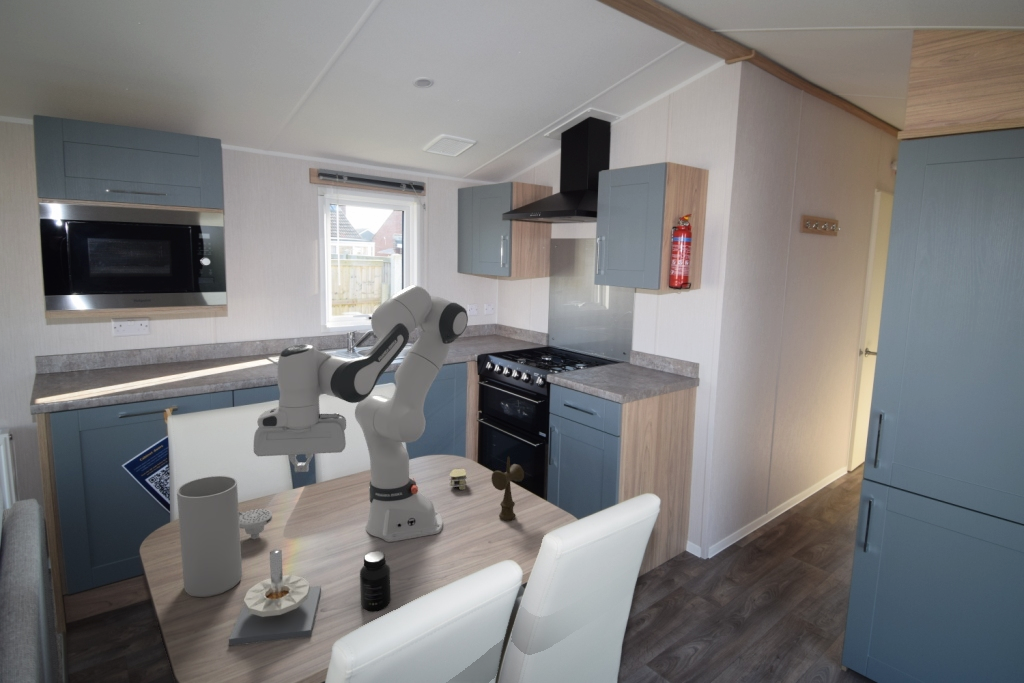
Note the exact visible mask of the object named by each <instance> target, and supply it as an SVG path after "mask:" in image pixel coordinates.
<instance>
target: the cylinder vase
mask: <svg viewBox="0 0 1024 683" xmlns="http://www.w3.org/2000/svg"><path fill="white" fill-rule="evenodd" d="M176 497H177V498H176V499H177V511H178V524H179V526H178V527H179V537H180V550H181V552H180V553H181V565H182V577H183V588H184V589H183V590H184V591H185V592H186V594H188V595H189V596H191V597H197V598H206V597H207V598H208V597H213V596H218V595H220V594H223V593H225V592H227V591H230V590H231V589H232V588H234V587H235V586H236V585H237V584H239V582H240V581H241V580H242V577H243V566H242V564H243V563H242V548H241V547H242V546H241V528H240V526H239V511H240V510H239V493H238V480H237V479H236V478H235V477H231V476H226V475H213V476H212V475H210V476H205V477H201V478H196V479H193V480H190V481H188V482H185V483H183V484H182V485H180V486H179V487H178V488H177V490H176Z"/></svg>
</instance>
